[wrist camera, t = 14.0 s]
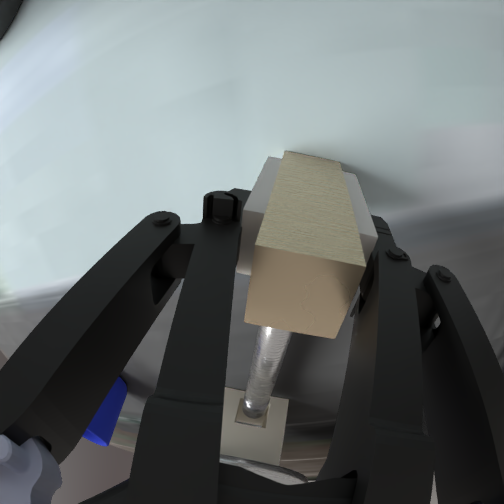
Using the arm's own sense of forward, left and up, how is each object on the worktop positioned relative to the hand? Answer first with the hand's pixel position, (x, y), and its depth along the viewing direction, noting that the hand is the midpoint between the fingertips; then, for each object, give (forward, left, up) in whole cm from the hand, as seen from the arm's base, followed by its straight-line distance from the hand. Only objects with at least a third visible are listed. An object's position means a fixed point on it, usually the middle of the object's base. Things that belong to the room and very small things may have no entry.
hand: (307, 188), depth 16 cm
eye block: (+28, 0, -2) cm, 28 cm away
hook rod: (+11, 0, -2) cm, 11 cm away
